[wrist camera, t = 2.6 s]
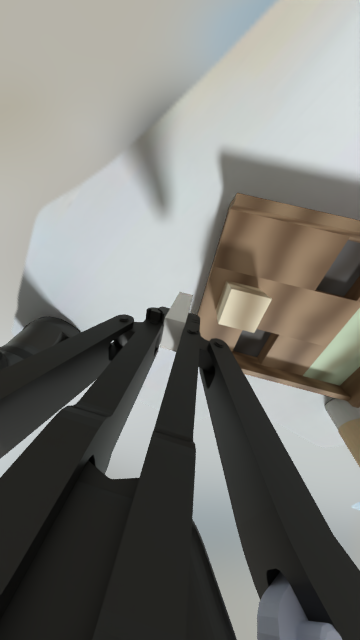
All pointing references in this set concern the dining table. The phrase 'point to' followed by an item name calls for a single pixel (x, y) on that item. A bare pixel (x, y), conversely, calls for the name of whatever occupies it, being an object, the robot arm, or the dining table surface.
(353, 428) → the coffee cup
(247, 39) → the dining table surface
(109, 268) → the dining table surface
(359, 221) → the box
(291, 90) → the dining table surface
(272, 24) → the dining table surface
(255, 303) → the birch block
